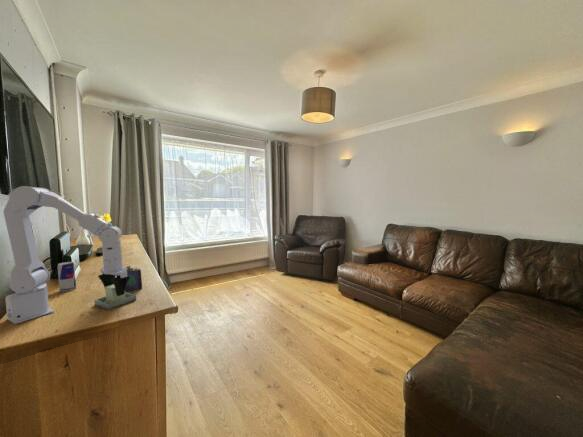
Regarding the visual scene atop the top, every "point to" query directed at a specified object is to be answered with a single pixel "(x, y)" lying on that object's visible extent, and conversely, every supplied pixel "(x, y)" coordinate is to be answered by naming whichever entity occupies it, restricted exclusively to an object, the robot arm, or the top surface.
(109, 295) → the green block
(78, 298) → the top surface
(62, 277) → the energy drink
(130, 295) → the dish
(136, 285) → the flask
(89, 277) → the top surface
